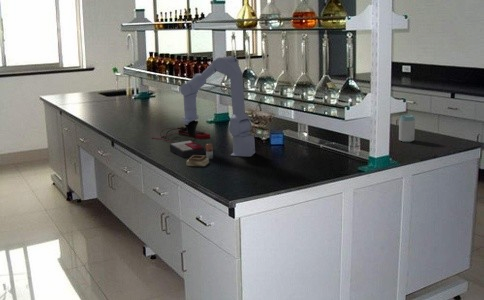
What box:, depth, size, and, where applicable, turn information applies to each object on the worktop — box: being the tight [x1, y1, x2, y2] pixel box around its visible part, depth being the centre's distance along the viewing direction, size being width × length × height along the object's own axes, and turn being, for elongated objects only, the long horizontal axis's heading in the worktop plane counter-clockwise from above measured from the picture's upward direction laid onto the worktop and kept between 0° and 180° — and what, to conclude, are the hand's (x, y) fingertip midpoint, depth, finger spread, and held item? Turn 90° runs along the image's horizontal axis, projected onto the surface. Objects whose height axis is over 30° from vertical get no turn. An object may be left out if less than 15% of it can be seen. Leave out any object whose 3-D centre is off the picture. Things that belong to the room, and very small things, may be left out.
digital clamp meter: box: [151, 126, 211, 143], centre depth 290 cm, size 23×4×25 cm
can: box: [398, 114, 416, 143], centre depth 264 cm, size 7×7×12 cm
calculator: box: [169, 140, 206, 158], centre depth 260 cm, size 11×4×15 cm
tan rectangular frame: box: [185, 154, 210, 167], centre depth 238 cm, size 8×6×3 cm
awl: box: [205, 143, 214, 161], centre depth 246 cm, size 3×3×6 cm
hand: (192, 136), depth 267 cm, fingers closed
